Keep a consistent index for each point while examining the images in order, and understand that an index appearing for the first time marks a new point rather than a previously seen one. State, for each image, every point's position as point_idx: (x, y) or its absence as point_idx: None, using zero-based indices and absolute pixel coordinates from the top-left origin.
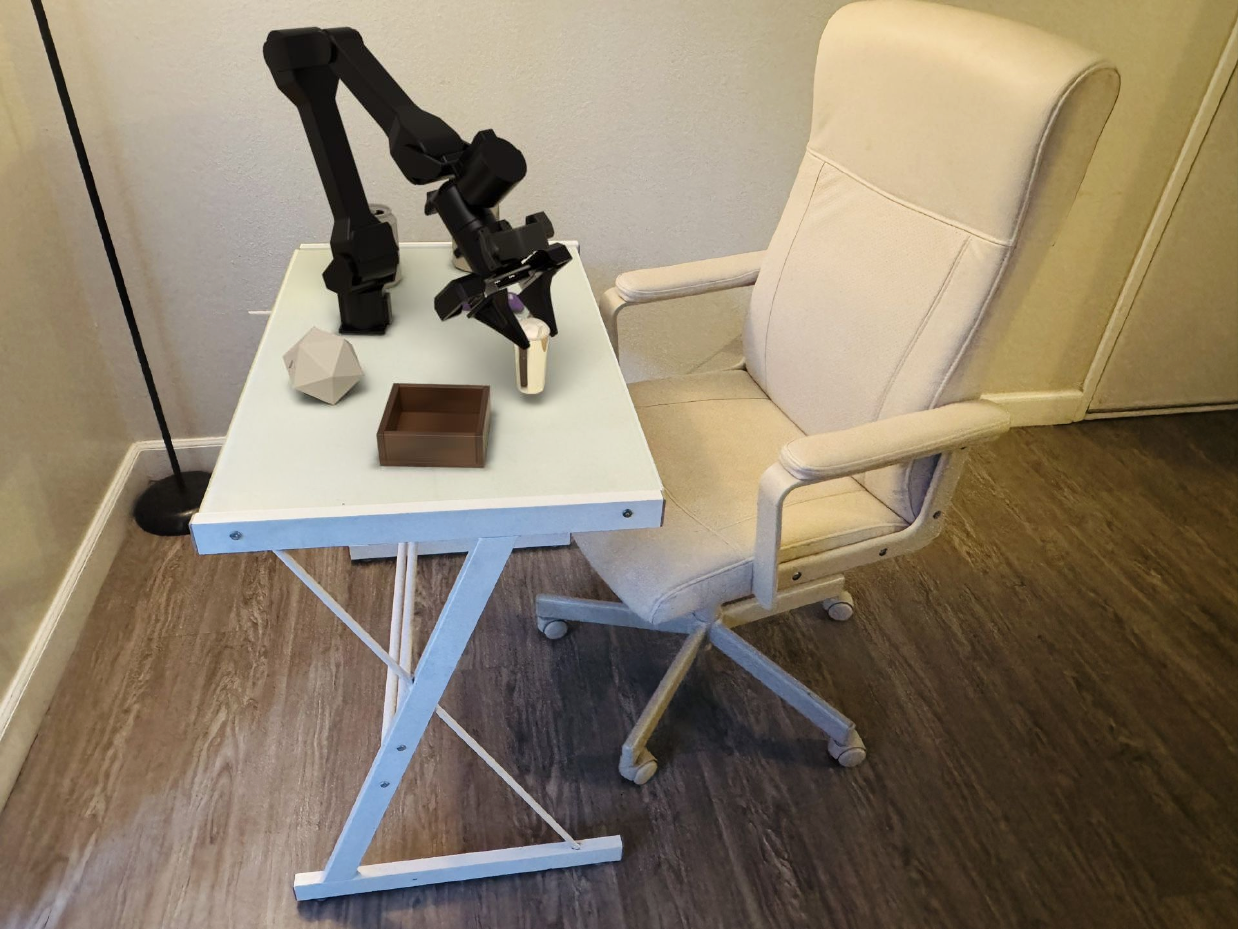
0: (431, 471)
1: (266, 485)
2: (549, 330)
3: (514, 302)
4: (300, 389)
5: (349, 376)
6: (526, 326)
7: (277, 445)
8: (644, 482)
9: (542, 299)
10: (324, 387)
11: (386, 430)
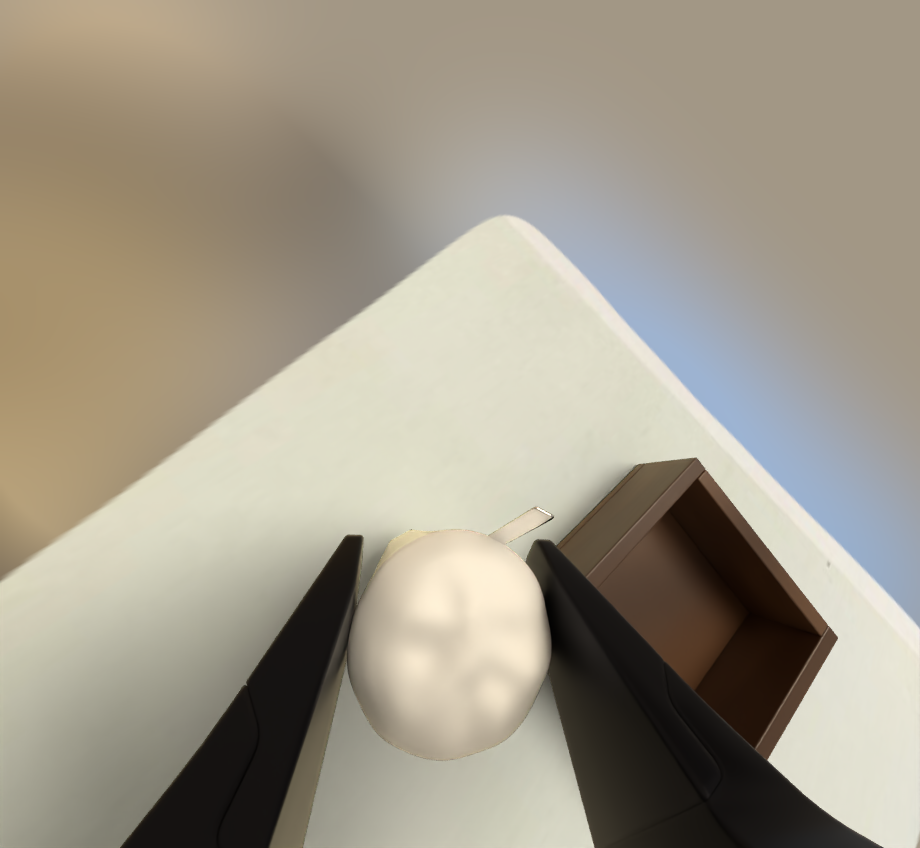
0: None
1: (892, 704)
2: (402, 551)
3: None
4: None
5: None
6: (507, 643)
7: (850, 826)
8: (491, 227)
9: (289, 794)
10: None
11: (801, 646)
